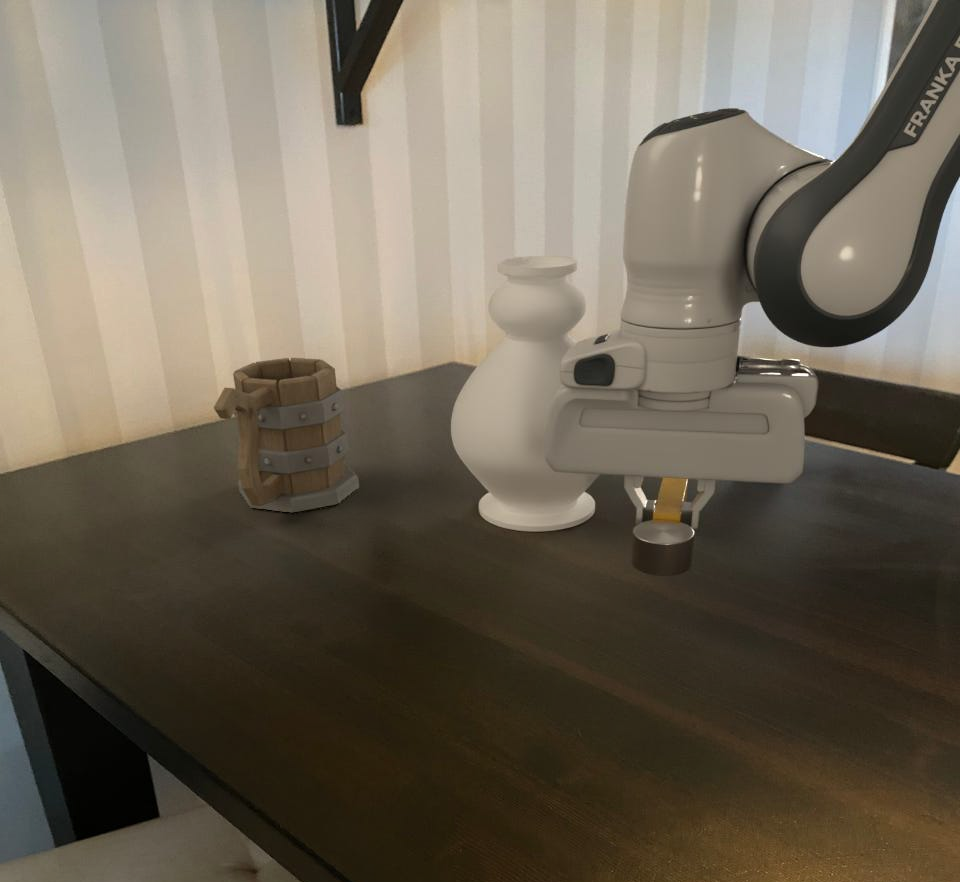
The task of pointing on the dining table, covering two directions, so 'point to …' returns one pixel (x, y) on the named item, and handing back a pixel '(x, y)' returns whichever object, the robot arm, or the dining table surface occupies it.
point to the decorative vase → (523, 401)
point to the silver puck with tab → (664, 534)
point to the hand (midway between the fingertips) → (666, 525)
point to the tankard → (289, 434)
